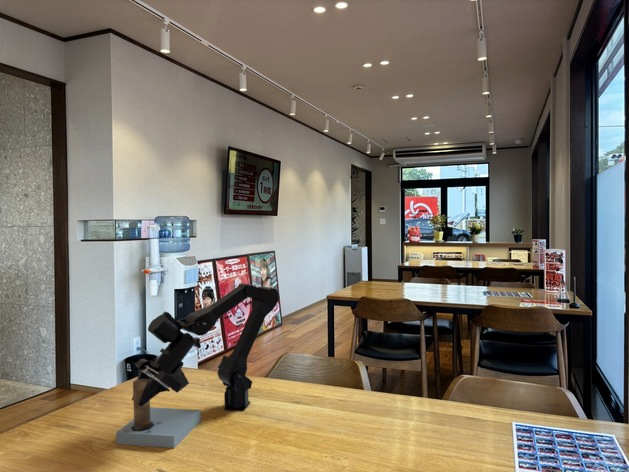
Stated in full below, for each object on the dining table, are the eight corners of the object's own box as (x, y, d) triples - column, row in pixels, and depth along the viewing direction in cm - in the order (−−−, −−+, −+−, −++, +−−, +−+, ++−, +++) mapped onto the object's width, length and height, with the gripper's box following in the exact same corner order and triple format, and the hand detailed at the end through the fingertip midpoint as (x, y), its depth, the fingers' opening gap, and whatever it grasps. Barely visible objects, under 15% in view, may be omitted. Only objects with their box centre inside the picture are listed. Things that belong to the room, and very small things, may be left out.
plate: (201, 420, 126) (200, 410, 126) (174, 448, 110) (173, 436, 110) (149, 417, 129) (149, 407, 129) (116, 444, 113) (116, 432, 113)
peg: (152, 422, 118) (151, 378, 118) (148, 429, 114) (146, 383, 114) (137, 423, 118) (135, 379, 118) (132, 430, 114) (130, 384, 114)
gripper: (210, 375, 119) (173, 429, 112) (180, 361, 133) (145, 407, 126) (182, 353, 114) (141, 407, 107) (153, 340, 128) (115, 387, 120)
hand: (136, 403), depth 115 cm, fingers closed on peg, 4 cm apart
